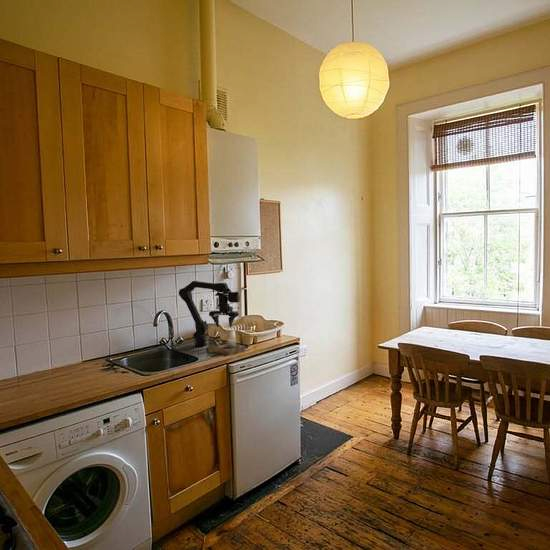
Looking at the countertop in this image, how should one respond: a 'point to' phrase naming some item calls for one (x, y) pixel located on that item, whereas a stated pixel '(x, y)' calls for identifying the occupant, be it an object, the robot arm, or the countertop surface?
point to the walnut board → (229, 349)
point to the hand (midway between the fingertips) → (224, 327)
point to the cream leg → (231, 338)
